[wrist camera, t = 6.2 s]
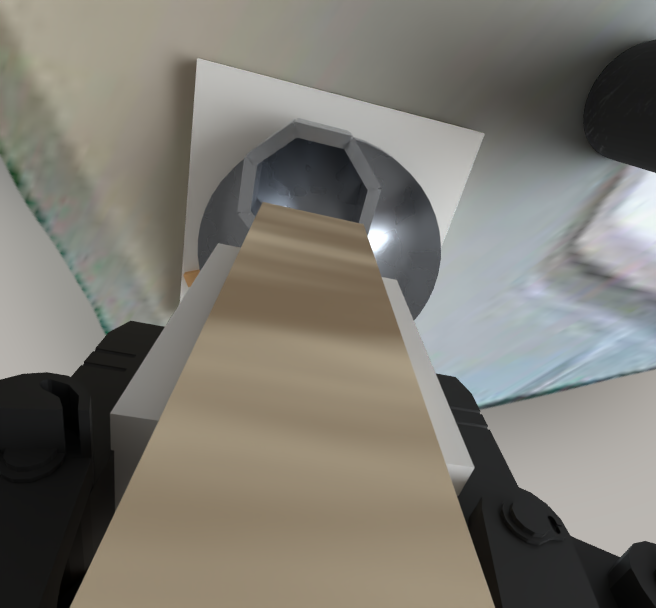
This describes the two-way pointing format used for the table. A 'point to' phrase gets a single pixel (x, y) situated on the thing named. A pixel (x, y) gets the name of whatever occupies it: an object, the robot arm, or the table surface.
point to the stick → (292, 450)
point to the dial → (332, 200)
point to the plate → (321, 107)
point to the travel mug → (625, 108)
